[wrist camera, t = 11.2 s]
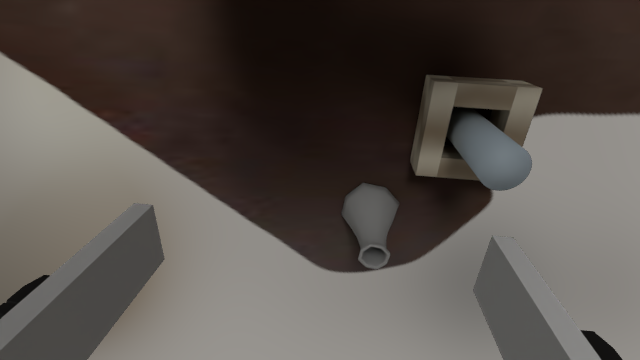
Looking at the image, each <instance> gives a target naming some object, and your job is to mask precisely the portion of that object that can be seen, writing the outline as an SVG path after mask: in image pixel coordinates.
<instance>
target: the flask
mask: <svg viewBox="0 0 640 360" xmlns="http://www.w3.org/2000/svg"><path fill="white" fill-rule="evenodd" d="M398 206H399V202H398V200H397V199H396V198H395V197H394V196H393V195H392V194H391V193H390V192H389V191H388V189H387V188H386V187H381V186H376V185H372V184H367V183H362V184H361V185H360V186H358V187H357V188H355V189H354V190H353V191H351V192H350V193H349V194H347V195H346V197H345V201H344V205H343V209H342V213H341V214H342V216H343V217H344V219H345V220H346V222H347V223H348V224H349V226H350V227H351V229H352V230H353V232H354V234H355V235H356V237H357V239H358V242H359V245H360V249H361V250H360V253H359V257H358V260H359V261H360V262H361V263H362V264H363V265H364V266H365V267H367V268H372V269H376V270H378V269H379V268H381V267H383V266H384V265H386V264H387V263H388V260H389V257H390V252H389V251H388V250H387V248H386V238H387V233H388V231H389V229H390V227H391V225H392V223H393V220H394V217H395V214H396V211H397V209H398Z"/></svg>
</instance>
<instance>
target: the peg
mask: <svg viewBox="0 0 640 360" xmlns="http://www.w3.org/2000/svg"><path fill="white" fill-rule="evenodd" d="M446 136H447V137H448V139H449V140H450V141H451V143H452V144H453V145H454V147H455V148H456V149H457V151H458V152H459V153H460V155H461V156H462V157H463V159H464V160H465V161H466V163H467V164H468V165H469V167H470V168H471V169H472V170H473V172H474V173H475V174H476V176H477V177H478V178H479V180H480V181H481V182H482V184H483V185H485V186H486V187H487V188H490V189H492V190H499V191H500V190H508V189H511V188H514V187H516V186H517V185H519V184H520V183H522V182H523V181H524V180H525V179H526V177H527V176H528V175H529V173H530V170H531V167H532V160H531V157H530V155H529V153H528V152H527V151H526V150H525V149H524V148H522V147H521V146H520V145H519V144H517V143H516V142H515V141H514V140H512V139H511V138H510V137H508V136H507V135H506V134H505V133H503V132H502V131H501V130H500V129H498V128H497V127H496V126H494V125H493V124H492V123H491V122H489V121H488V120H487V119H486V118H484V117H483V116H482V115H481V114H479V113H478V112H477V111H475V110H474V109H472V108H468V107H459V108H456V109H454V110H452V113H451V118H450V122H449V126H448V130H447V135H446Z"/></svg>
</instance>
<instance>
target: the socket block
mask: <svg viewBox="0 0 640 360" xmlns="http://www.w3.org/2000/svg"><path fill="white" fill-rule="evenodd" d="M542 89H543V88H540V87H538V86H535V85H532V84H530V83H527V82H525V81H517V80H502V79H486V78H471V77H455V76H439V75H426V78H425V84H424V89H423V94H422V100H421V105H420V110H419V116H418V121H417V126H416V132H415V137H414V142H413V147H412V153H411V158H410V162H411V165H412V167H413V170H414V172H415V175H418V176H430V177H442V178H455V179H467V180H479V178H478V177H477V176H476V174H475V173H474V172H473V170H472V169H471V168H470V167H469V165H468V164H467V163H466V161H465V160H464V159H463V157H462V156H461V155H460V153H459V152H458V151H457V149H456V148H455V147H454V146H444V143H445V139H446V135H447V130H448V126H449V122H450V118H451V113H452V109H453V107H468V108H482V109H492V112H491V116H490V119H489V122H491V123H492V124H493V125H494V126H496V127H497V128H498V129H500V130H501V131H502V132H503V133H505V134H506V135H507V136H508V137H510V138H511V139H512V140H514V141H515V142H516V143H517V144H519V145H520V146H521V147H522V146H523V144H524V141H525V138H526V135H527V132H528V129H529V126H530V124H531V121H532V118H533V115H534V112H535V109H536V106H537V104H538V101H539V98H540V95H541V92H542ZM479 181H480V180H479Z"/></svg>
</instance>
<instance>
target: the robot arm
mask: <svg viewBox="0 0 640 360" xmlns="http://www.w3.org/2000/svg"><path fill="white" fill-rule="evenodd" d="M163 260H164V255H163V250H162V245H161V241H160V236H159V232H158V226H157V222H156V217H155V213H154V208H153V205H148V204H137V203H134V204H133V205H132V206H131V207H129V208H128V209H127V210H126V211H125V212H124V213H122V214H121V215H120V216H119V217H118V218H117V219H115V220H114V221H113V222H112V223H111V224H110V225H109V226H107V227H106V228H105V229H104V230H103V231H102V232H100V233H99V234H98V235H97V236H96V237H95V238H94V239H92V240H91V241H90V242H89V243H88V244H87V245H85V246H84V247H83V248H82V249H81V250H80V251H78V252H77V253H76V254H75V255H74V256H73V257H72V258H70V259H69V260H68V261H67V262H66V263H65V264H63V265H62V266H61V267H60V268H59V269H58V270H57V271H55V272H54V273H53V274H52V275H51V276H49V275H43V276H42V277H40V278H38V279H36V280H34V281H33V282H31V283H29V284H27V285H25V286H24V287H22V288H21V289H20V290H19V291H17V292H16V293H15V294H14V295H13V296H11V297H10V298H9V299H8V300H7V302H6V303H3V304H2V305H0V360H87V359H88V358H89V357H90V355H91V354H92V353H93V351H94V350H95V349H96V348H97V346H98V345H99V344H100V342H101V341H102V340H103V338H104V337H105V336H106V335H107V333H108V332H109V331H110V329H111V328H112V327H113V325H114V324H115V323H116V322H117V320H118V319H119V317H120V316H121V315H122V314H123V312H124V311H125V310H126V309H127V307H128V306H129V305H130V303H131V302H132V301H133V299H134V298H135V297H136V296H137V294H138V293H139V292H140V290H141V289H142V288H143V286H144V285H145V284H146V282H147V281H148V280H149V279H150V277H151V276H152V275H153V273H154V272H155V271H156V270H157V268H158V267H159V266H160V264H161V263H162V262H163ZM473 291H474V293H475V296H476V298H477V300H478V302H479V305H480V307H481V309H482V312H483V314H484V316H485V319H486V321H487V323H488V325H489V328H490V330H491V332H492V335H493V337H494V339H495V341H496V344H497V346H498V348H499V351H500V353H501V355H502V357H503V359H504V360H622V358H621V357H620V356H619V355H618V353H617V352H616V351H615V349H614V348H613V347H611V346H610V345H609V344H608V343H607V342H605V341H604V340H603V339H602V338H601V337H599V336H598V335H597V334H596V333H595V332H593V331H582V330H580V329H579V328H578V327H577V325H576V324H575V322H574V321H573V320H572V318H571V317H570V316H569V314H568V313H567V311H566V310H565V309H564V307H563V306H562V304H561V303H560V302H559V300H558V299H557V298H556V296H555V295H554V293H553V292H552V291H551V289H550V288H549V286H548V285H547V284H546V282H545V281H544V279H543V278H542V277H541V275H540V274H539V273H538V271H537V270H536V268H535V267H534V266H533V264H532V263H531V262H530V260H529V259H528V257H527V256H526V254H525V253H524V252H523V250H522V249H521V248H520V246H519V245H518V243H517V242H516V241H515V239H514V238H513V237H501V236H492V238H491V241H490V243H489V246H488V249H487V252H486V255H485V258H484V261H483V263H482V266H481V269H480V272H479V275H478V277H477V280H476V283H475V286H474V289H473Z"/></svg>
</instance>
